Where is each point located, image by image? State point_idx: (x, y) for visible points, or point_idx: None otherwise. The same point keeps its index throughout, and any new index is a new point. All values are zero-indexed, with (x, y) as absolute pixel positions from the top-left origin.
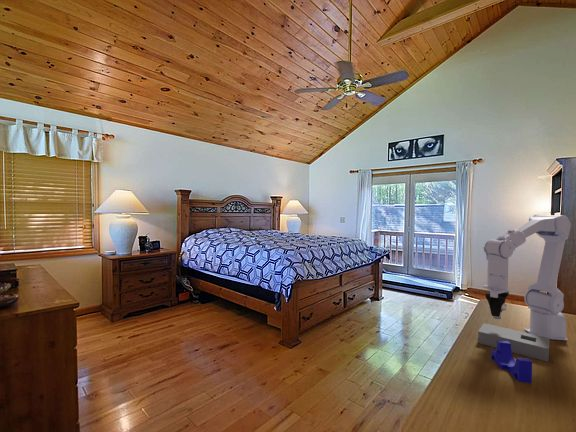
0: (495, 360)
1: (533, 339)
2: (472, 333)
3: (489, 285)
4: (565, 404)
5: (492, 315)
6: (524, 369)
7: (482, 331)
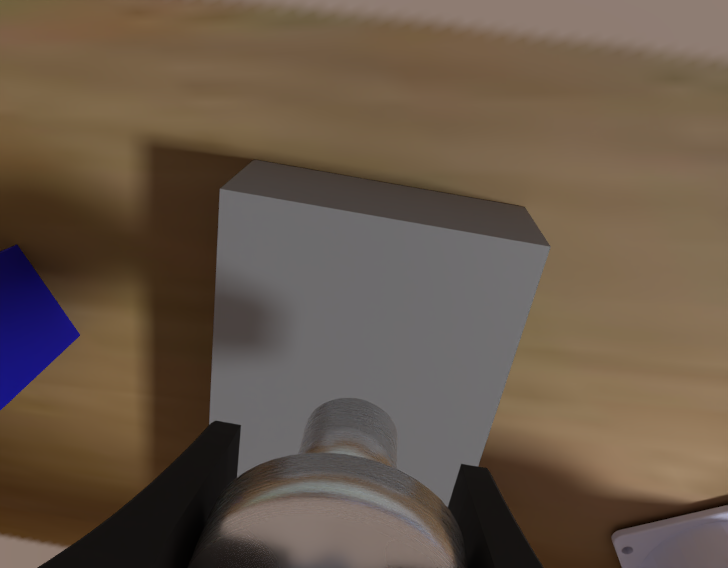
0: None
1: None
2: (478, 107)
3: None
4: None
5: (207, 428)
6: None
7: (246, 227)
